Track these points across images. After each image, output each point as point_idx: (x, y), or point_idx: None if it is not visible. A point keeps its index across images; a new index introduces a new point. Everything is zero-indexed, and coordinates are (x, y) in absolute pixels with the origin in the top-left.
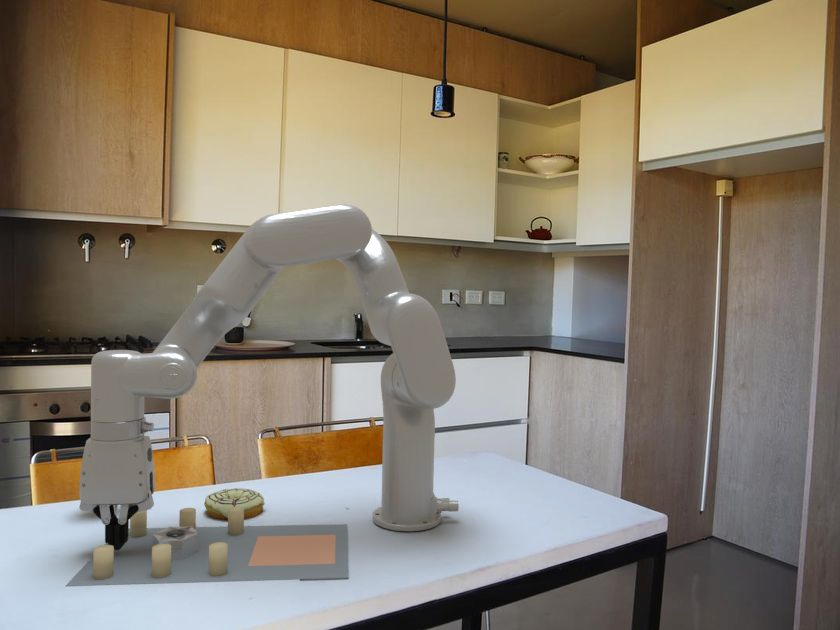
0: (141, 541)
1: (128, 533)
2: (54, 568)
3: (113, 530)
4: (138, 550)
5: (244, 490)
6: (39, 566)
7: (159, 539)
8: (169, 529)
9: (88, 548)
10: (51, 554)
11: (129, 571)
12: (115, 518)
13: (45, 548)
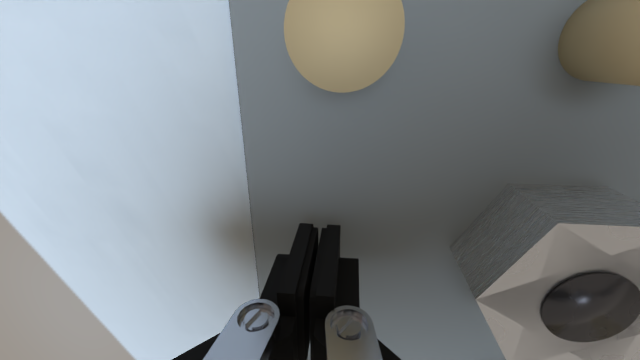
0: (383, 131)
1: (358, 268)
2: (185, 300)
3: (308, 342)
4: (392, 222)
5: None
6: (138, 284)
7: (511, 354)
8: (558, 257)
9: (200, 170)
10: (112, 208)
11: (401, 355)
12: (294, 349)
13: (57, 156)
